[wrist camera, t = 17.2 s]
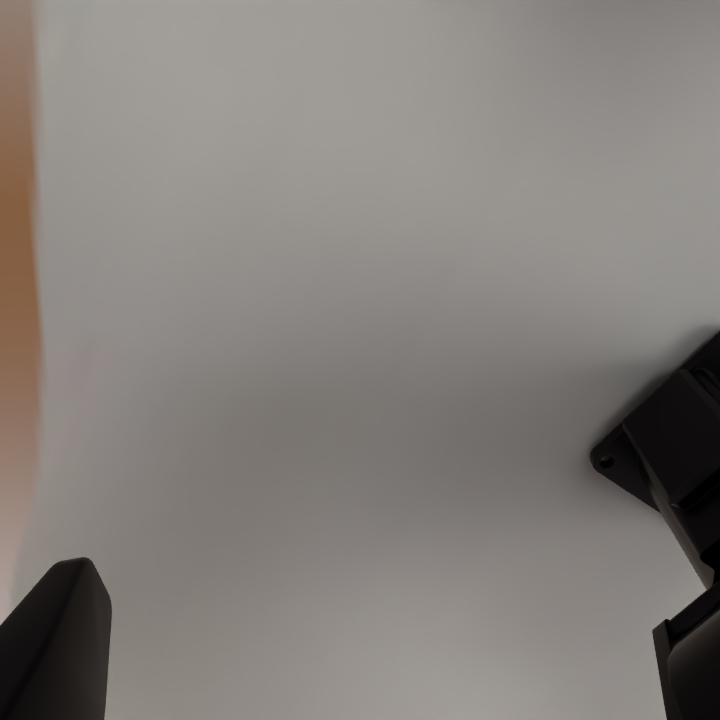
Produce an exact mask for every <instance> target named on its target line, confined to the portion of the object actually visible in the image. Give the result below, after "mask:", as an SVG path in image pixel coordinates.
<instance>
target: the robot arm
mask: <svg viewBox="0 0 720 720" xmlns="http://www.w3.org/2000/svg"><path fill="white" fill-rule="evenodd" d="M606 456H610V458H609V459H608V460H606V461H601V460H602V458H604V457H606ZM590 461H591V463H592V465H593V467H594V469H595V470H596V471H597V472H599V473H600V474H602V475H603V476H605V477H606V478H608V479H609V480H611V481H613V482H614V483H616V484H617V485H619V486H620V487H622V488H623V489H625V490H626V491H628V492H629V493H631V494H632V495H634V496H635V497H637V498H638V499H640V500H641V501H643V502H644V503H646V504H648V505H649V506H651V507H652V508H654V509H655V510H657V511H658V512H660V513H661V514H662V515H663V517H664V519H665V520H666V522H667V524H668V525H669V527H670V529H671V530H672V532H673V534H674V536H675V537H676V539H677V541H678V542H679V544H680V546H681V547H682V549H683V551H684V552H685V554H686V556H687V558H688V559H689V561H690V563H691V564H692V566H693V568H694V569H695V571H696V573H697V574H698V576H699V578H700V580H701V581H702V583H703V585H704V586H705V588H706V591H705V592H704V593H703V594H702V595H700V596H699V597H698V598H697V599H695V600H694V601H693V602H692V603H691V604H689V605H688V606H687V607H686V608H684V609H683V610H682V611H681V612H680V613H678V614H677V615H676V616H675V617H674V618H672V619H671V620H668V619H665V620H664V621H663V622H662V623H660V624H659V625H658V626H657V627H655V628H654V629H653V630H652V633H653V639H654V645H655V651H656V657H657V663H658V669H659V675H660V681H661V687H662V693H663V699H664V705H665V711H666V717H667V720H720V333H718V334H717V335H716V336H715V337H714V338H712V339H711V340H710V341H709V342H708V343H707V344H706V345H705V346H704V347H703V348H702V349H701V350H699V351H698V352H697V353H696V354H695V355H694V356H693V357H692V358H691V359H690V360H689V361H688V362H687V363H685V364H684V365H683V366H682V367H681V368H680V369H679V370H678V371H677V372H675V373H674V374H673V375H672V376H671V377H670V378H669V379H668V380H667V381H666V382H665V383H663V384H662V385H661V386H660V387H659V388H658V389H657V390H656V391H655V392H654V393H653V394H652V395H651V396H649V397H648V398H647V399H646V400H645V401H644V402H643V403H642V404H641V405H640V406H639V407H638V408H636V409H635V410H634V411H633V412H632V413H631V414H630V415H629V416H628V417H627V418H626V419H625V420H624V421H623V422H622V423H621V424H620V425H618V426H617V427H616V428H615V429H614V430H613V431H612V432H611V433H610V434H609V435H608V436H607V437H606V438H604V439H603V440H602V441H601V442H600V443H599V444H598V445H597V446H596V447H595V448H594V449H593V450H592V451H591V453H590ZM111 619H112V605H111V600H110V596H109V594H108V592H107V590H106V588H105V586H104V584H103V582H102V580H101V578H100V576H99V574H98V572H97V570H96V568H95V566H94V564H93V562H92V561H91V560H90V559H89V558H86V557H81V558H76V559H70V560H64V561H60V562H57V563H56V564H54V565H53V566H52V567H51V568H50V569H49V570H48V571H47V573H46V574H45V575H44V576H43V577H42V578H41V579H40V581H39V582H38V583H37V584H36V585H35V586H34V587H33V589H32V590H31V591H30V592H29V593H28V594H27V595H26V597H25V598H24V599H23V600H22V601H21V602H20V604H19V605H18V606H17V607H16V608H15V609H14V610H13V612H12V613H11V614H10V615H9V616H8V617H7V618H6V620H5V621H4V622H3V623H2V624H1V625H0V720H104V717H105V706H106V691H107V677H108V662H109V648H110V634H111Z"/></svg>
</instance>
